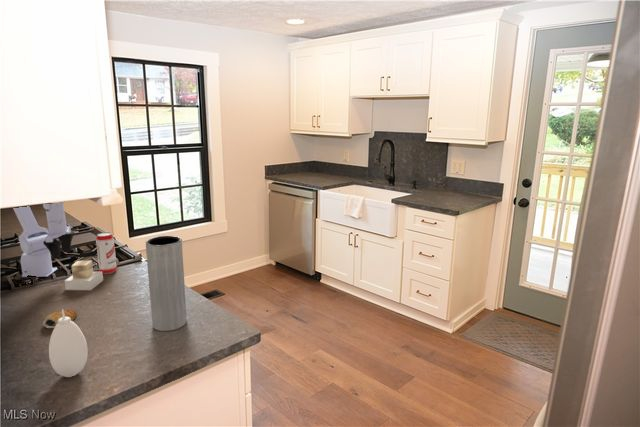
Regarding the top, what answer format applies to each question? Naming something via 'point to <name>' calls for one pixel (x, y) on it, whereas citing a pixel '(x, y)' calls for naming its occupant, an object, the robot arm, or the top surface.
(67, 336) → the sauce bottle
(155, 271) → the vase
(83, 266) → the maple cube
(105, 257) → the beer can
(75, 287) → the white block
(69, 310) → the pastry
